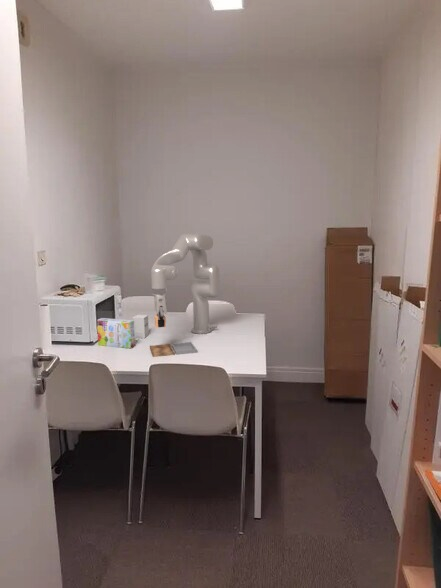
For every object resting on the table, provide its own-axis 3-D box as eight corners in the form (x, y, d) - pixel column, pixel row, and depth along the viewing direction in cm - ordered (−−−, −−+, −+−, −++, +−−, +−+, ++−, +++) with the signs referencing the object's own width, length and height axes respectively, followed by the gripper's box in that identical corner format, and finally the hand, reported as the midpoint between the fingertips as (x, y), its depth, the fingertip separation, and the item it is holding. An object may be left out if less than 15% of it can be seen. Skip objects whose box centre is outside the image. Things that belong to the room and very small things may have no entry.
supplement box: (144, 338, 264) (143, 317, 261) (133, 338, 265) (132, 317, 263) (149, 335, 271) (148, 314, 268) (137, 334, 272) (136, 314, 270)
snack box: (135, 346, 250) (134, 319, 247) (130, 349, 245) (129, 322, 242) (103, 342, 257) (101, 317, 254) (97, 345, 252) (95, 319, 249)
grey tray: (191, 346, 248) (191, 341, 248) (196, 354, 235) (196, 349, 235) (171, 348, 246) (171, 343, 245) (176, 356, 232) (175, 351, 232)
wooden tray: (169, 348, 245) (169, 343, 245) (174, 356, 232) (174, 351, 232) (149, 350, 243) (149, 345, 242) (152, 358, 229) (152, 353, 229)
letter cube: (164, 324, 237) (164, 315, 236) (165, 326, 233) (165, 317, 232) (155, 325, 236) (154, 315, 235) (156, 327, 231) (155, 318, 230)
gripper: (169, 293, 224) (170, 329, 227) (164, 288, 240) (165, 321, 243) (153, 294, 222) (155, 330, 225) (150, 288, 238) (151, 322, 241)
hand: (160, 325), depth 234 cm, fingers closed on letter cube, 4 cm apart
